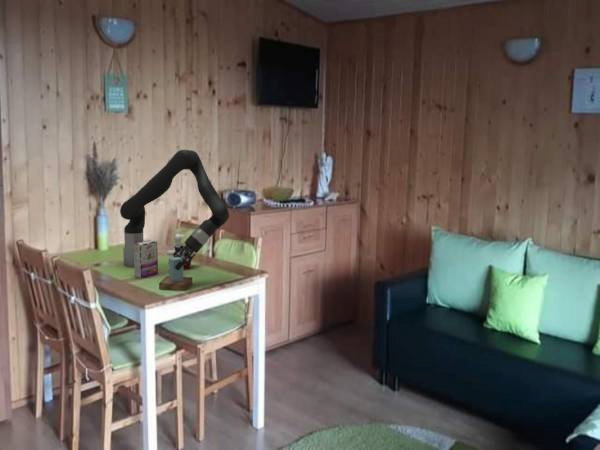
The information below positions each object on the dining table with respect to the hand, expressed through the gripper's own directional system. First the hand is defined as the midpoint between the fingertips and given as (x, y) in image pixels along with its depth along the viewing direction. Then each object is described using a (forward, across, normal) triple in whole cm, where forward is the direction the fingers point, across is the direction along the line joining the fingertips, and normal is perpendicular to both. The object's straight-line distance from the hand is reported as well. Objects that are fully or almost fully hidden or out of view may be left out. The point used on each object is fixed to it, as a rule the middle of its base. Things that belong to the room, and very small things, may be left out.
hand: (173, 267), depth 270 cm
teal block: (+3, 0, +5) cm, 6 cm away
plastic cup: (-5, -31, +18) cm, 36 cm away
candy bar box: (+10, -24, +3) cm, 26 cm away
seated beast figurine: (-10, -60, +24) cm, 65 cm away
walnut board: (+6, 0, +7) cm, 9 cm away
